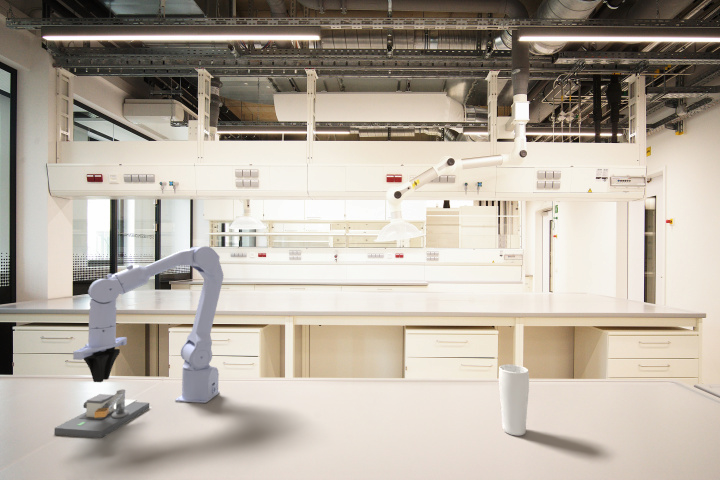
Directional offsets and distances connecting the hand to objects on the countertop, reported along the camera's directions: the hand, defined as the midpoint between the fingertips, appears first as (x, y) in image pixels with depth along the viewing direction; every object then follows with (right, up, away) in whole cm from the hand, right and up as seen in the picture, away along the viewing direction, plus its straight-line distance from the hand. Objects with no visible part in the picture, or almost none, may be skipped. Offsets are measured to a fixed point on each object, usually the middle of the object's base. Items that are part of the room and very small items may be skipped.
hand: (101, 380), depth 94 cm
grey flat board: (+1, -10, 0) cm, 10 cm away
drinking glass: (+103, -11, -4) cm, 103 cm away
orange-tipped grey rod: (+7, -8, -6) cm, 12 cm away
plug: (0, -8, 0) cm, 8 cm away
